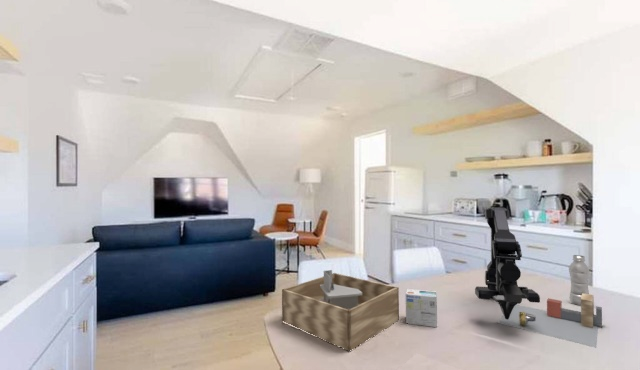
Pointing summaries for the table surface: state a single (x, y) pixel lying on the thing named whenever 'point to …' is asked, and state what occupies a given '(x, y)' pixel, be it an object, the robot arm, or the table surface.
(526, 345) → the table surface
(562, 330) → the board
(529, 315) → the metal measuring spoon
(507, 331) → the table surface
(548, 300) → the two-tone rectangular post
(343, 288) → the architectural model
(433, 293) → the light bulb box
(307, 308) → the wooden crate
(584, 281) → the plastic bottle
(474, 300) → the table surface
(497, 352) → the table surface
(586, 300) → the tan rectangular block
